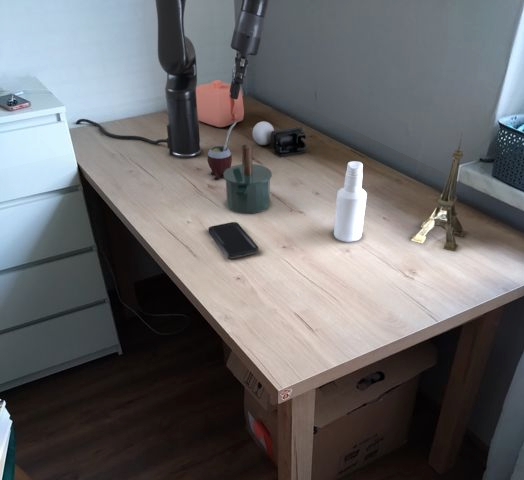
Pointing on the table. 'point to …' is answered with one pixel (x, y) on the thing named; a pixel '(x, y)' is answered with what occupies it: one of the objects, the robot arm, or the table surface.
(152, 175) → the table surface
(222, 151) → the mate gourd
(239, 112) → the teapot
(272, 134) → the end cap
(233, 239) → the phone
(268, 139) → the white sphere
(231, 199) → the pot
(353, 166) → the white bottle
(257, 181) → the lid
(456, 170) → the eiffel tower
